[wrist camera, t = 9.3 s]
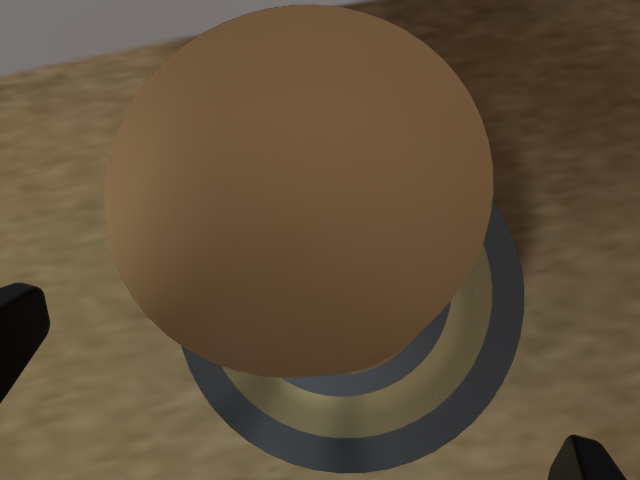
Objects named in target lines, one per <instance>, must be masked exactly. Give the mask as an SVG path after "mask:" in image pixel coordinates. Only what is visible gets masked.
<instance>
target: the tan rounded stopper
mask: <svg viewBox="0 0 640 480" xmlns="http://www.w3.org/2000/svg"><path fill="white" fill-rule="evenodd" d="M492 199H493V163H492V157H491V151H490V145H489V140H488V137H487V134H486V131H485V127H484V124H483V121H482V118H481V116H480V114H479V112H478V109H477V107H476V105H475V103H474V101H473V99H472V97H471V95H470V94H469V92H468V91H467V89H466V88H465V86H464V85H463V83H462V81H461V80H460V78H459V77H458V76H457V74H456V73H455V72H454V71H453V70H452V69H451V68H450V67H449V65H448V64H447V63H446V62H445V61H444V60H443V59H442V58H441V57H440V56H439V55H438V54H437V53H436V52H434V51H433V50H432V49H431V48H430V47H429V46H428V45H426V44H425V43H424V42H423V41H421V40H420V39H418V38H416V37H415V36H413V35H412V34H410V33H409V32H407V31H406V30H404V29H402V28H400V27H398V26H396V25H394V24H392V23H390V22H388V21H386V20H384V19H381V18H378V17H375V16H373V15H370V14H367V13H364V12H361V11H356V10H351V9H347V8H342V7H336V6H325V5H289V6H282V7H275V8H268V9H264V10H261V11H256V12H252V13H249V14H245V15H242V16H240V17H237V18H235V19H232V20H229V21H227V22H224V23H222V24H220V25H218V26H216V27H214V28H212V29H210V30H208V31H206V32H204V33H203V34H201V35H200V36H198V37H197V38H195V39H194V40H192V41H191V42H189V43H188V44H186V45H184V46H183V47H182V48H181V49H180V50H178V51H177V52H176V53H175V54H174V55H172V56H171V57H170V58H169V59H168V60H166V61H165V62H164V63H163V64H162V66H161V67H160V68H159V69H158V70H157V71H156V72H155V73H154V74H153V75H152V76H151V77H150V78H149V80H148V81H147V82H146V84H145V85H144V86H143V88H142V89H141V90H140V92H139V93H138V94H137V96H136V97H135V99H134V100H133V102H132V104H131V105H130V107H129V109H128V111H127V112H126V114H125V116H124V118H123V120H122V122H121V125H120V127H119V129H118V132H117V134H116V136H115V139H114V142H113V146H112V149H111V153H110V156H109V159H108V164H107V171H106V177H105V184H104V214H105V223H106V232H107V236H108V240H109V244H110V248H111V252H112V256H113V258H114V260H115V263H116V265H117V268H118V270H119V273H120V275H121V278H122V279H123V281H124V283H125V285H126V286H127V288H128V290H129V291H130V293H131V295H132V297H133V298H134V300H135V301H136V302H137V303H138V305H139V306H140V307H141V309H142V310H143V311H144V312H145V314H146V315H147V316H148V317H149V318H150V319H151V320H152V321H153V322H154V323H155V324H156V325H157V326H158V327H159V328H160V329H161V330H162V331H163V332H164V333H165V334H166V335H167V336H169V337H170V338H172V339H173V340H174V341H176V342H177V343H179V344H180V345H181V346H183V347H184V348H186V349H187V350H189V351H191V352H192V353H194V354H196V355H198V356H200V357H202V358H204V359H206V360H208V361H210V362H212V363H215V364H218V365H221V366H223V367H226V368H229V369H232V370H235V371H238V372H243V373H248V374H253V375H258V376H264V377H280V378H282V379H283V380H285V381H286V382H288V383H290V384H292V385H294V386H296V387H298V388H300V389H303V390H306V391H309V392H312V393H316V394H321V395H326V396H338V397H346V396H358V395H363V394H368V393H372V392H375V391H378V390H381V389H383V388H386V387H388V386H390V385H392V384H394V383H396V382H398V381H400V380H401V379H402V378H404V377H405V376H407V375H408V374H409V373H411V372H412V371H413V370H414V369H415V368H416V367H417V366H419V365H420V364H421V363H422V362H423V361H424V359H425V358H426V357H427V356H428V354H429V353H430V352H431V351H432V349H433V348H434V346H435V344H436V343H437V341H438V339H439V338H440V336H441V333H442V331H443V329H444V327H445V324H446V321H447V317H448V314H449V310H450V304H451V299H452V298H453V297H454V296H455V294H456V293H457V292H458V291H459V289H460V287H461V286H462V284H463V282H464V281H465V279H466V277H467V276H468V274H469V272H470V271H471V269H472V268H473V265H474V263H475V261H476V258H477V256H478V254H479V251H480V249H481V247H482V244H483V242H484V238H485V234H486V231H487V227H488V223H489V220H490V215H491V207H492Z"/></svg>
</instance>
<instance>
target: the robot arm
mask: <svg viewBox="0 0 640 480" xmlns="http://www.w3.org/2000/svg"><path fill="white" fill-rule="evenodd" d="M49 328H50V319H49V314H48V310H47V305H46V300H45V296H44V293H43V291H42V290H41V288H39V287H36V286H33V285H29V284H25V283H14V284H11V285H8V286H5V287H2V288H0V403H1V402H2V401H3V399H4V398H5V396H6V395H7V394H8V392H9V391H10V389H11V388H12V386H13V385H14V383H15V382H16V380H17V379H18V377H19V376H20V374H21V373H22V371H23V370H24V368H25V367H26V365H27V364H28V362H29V361H30V360H31V358H32V357H33V355H34V354H35V352H36V351H37V349H38V348H39V346H40V345H41V343H42V342H43V340H44V339H45V337H46V336H47V334H48V331H49ZM548 480H627V479H626V478H625V476H624V475H623V474H622V472H621V471H620V469H619V468H618V467H617V465H616V464H615V462H614V461H613V460H612V458H611V457H610V455H609V454H608V452H607V451H606V450H605V448H604V447H603V446H602V445H601V444H600V443H599V442H598V441H596V440H592V439H589V438H585V437H581V436H578V435H570V436H568V437H567V438H566V440H565V442H564V444H563V445H562V447H561V449H560V451H559V453H558V455H557V457H556V458H555V460H554V462H553V464H552V466H551V468H550V471H549V476H548Z"/></svg>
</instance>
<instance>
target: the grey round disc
mask: <svg viewBox="0 0 640 480" xmlns="http://www.w3.org/2000/svg"><path fill="white" fill-rule="evenodd" d="M523 315H524V285H523V277H522V269H521V264H520V260H519V256H518V252H517V249H516V245H515V242H514V240H513V237H512V235H511V232H510V230H509V227H508V225H507V223H506V221H505V219H504V218H503V216H502V214H501V212H500V211H499V209H498V207H497V205H496V204H495V202H494V201H493V200H492V207H491V215H490V220H489V223H488V227H487V231H486V234H485V238H484V242H483V244H482V247H481V249H480V251H479V254H478V256H477V258H476V261H475V263H474V265H473V268H472V269H471V271H470V272H469V274H468V276H467V277H466V279H465V281H464V282H463V284H462V286H461V287H460V289H459V291H458V292H457V293H456V294H455V296H454V297H453V298H452V299H451V304H450V310H449V314H448V317H447V321H446V324H445V327H444V329H443V331H442V333H441V336H440V338H439V339H438V341H437V343H436V344H435V346H434V348H433V349H432V351H431V352H430V353H429V354H428V356H427V357H426V358H425V359H424V361H423V362H422V363H421V364H420V365H419V366H417V367H416V368H415V369H414V370H413V371H412V372H411V373H409V374H408V375H407V376H405V377H404V378H402V379H401V380H400V381H398V382H396V383H394V384H392V385H390V386H388V387H386V388H383V389H381V390H378V391H375V392H372V393H368V394H363V395H358V396H346V397H338V396H326V395H321V394H316V393H312V392H309V391H306V390H303V389H300V388H298V387H296V386H294V385H292V384H290V383H288V382H286V381H285V380H283V379H282V378H280V377H264V376H258V375H253V374H248V373H243V372H238V371H235V370H232V369H229V368H226V367H223V366H221V365H218V364H215V363H212V362H210V361H208V360H206V359H204V358H202V357H200V356H198V355H196V354H194V353H192V352H191V351H189V350H187V349H186V348H184V347H183V346H182V350H183V352H184V355H185V358H186V360H187V363H188V366H189V369H190V371H191V373H192V375H193V377H194V379H195V381H196V382H197V384H198V386H199V388H200V390H201V392H202V393H203V394H204V396H205V397H206V399H207V400H208V402H209V403H210V404H211V406H212V407H213V409H214V410H215V411H216V412H217V413H218V414H219V415H220V416H221V417H222V418H223V419H224V421H225V422H226V423H227V424H228V425H229V426H230V427H231V428H232V429H234V430H235V431H236V432H237V433H239V434H240V435H241V436H242V437H244V438H245V439H246V440H247V441H248V442H250V443H252V444H253V445H255V446H257V447H258V448H260V449H262V450H263V451H265V452H267V453H268V454H270V455H272V456H275V457H277V458H279V459H282V460H284V461H286V462H289V463H291V464H294V465H298V466H302V467H305V468H309V469H313V470H318V471H326V472H334V473H366V472H373V471H379V470H385V469H390V468H393V467H397V466H400V465H403V464H407V463H410V462H413V461H415V460H417V459H419V458H421V457H423V456H426V455H428V454H430V453H432V452H434V451H436V450H437V449H439V448H440V447H442V446H443V445H445V444H446V443H448V442H450V441H451V440H453V439H454V438H456V437H457V436H458V435H459V434H460V433H461V432H462V431H464V430H465V429H466V428H467V427H468V426H469V425H470V424H472V423H473V422H474V421H475V420H476V418H477V417H478V416H479V415H480V414H481V413H482V411H483V410H484V409H485V408H486V407H487V406H488V404H489V403H490V402H491V400H492V399H493V397H494V396H495V394H496V392H497V391H498V389H499V388H500V386H501V385H502V383H503V381H504V379H505V377H506V375H507V373H508V370H509V368H510V366H511V364H512V362H513V359H514V356H515V352H516V349H517V346H518V342H519V339H520V334H521V328H522V321H523Z"/></svg>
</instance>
